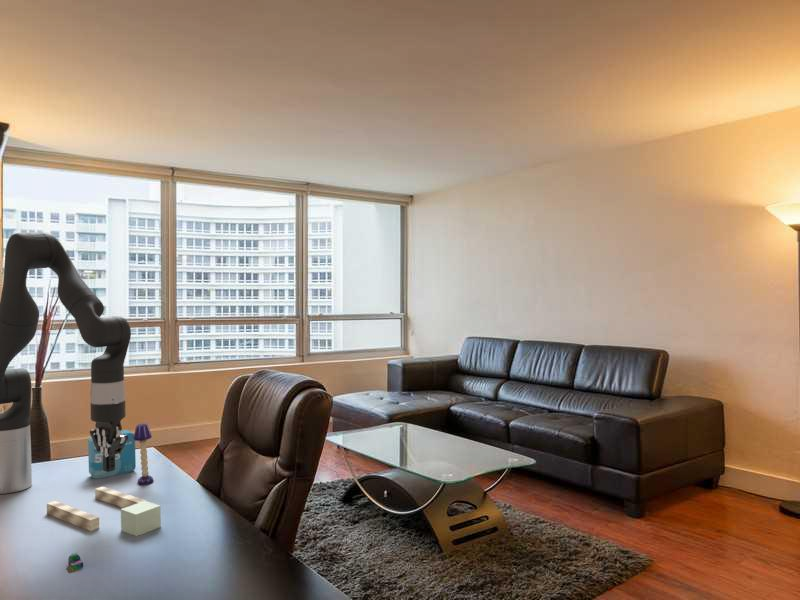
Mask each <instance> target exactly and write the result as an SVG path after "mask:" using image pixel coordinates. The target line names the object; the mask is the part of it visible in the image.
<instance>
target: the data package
mask: <svg viewBox="0 0 800 600" xmlns="http://www.w3.org/2000/svg"><path fill="white" fill-rule="evenodd" d="M121 432H122V434H123V435H127V436H128V440H127V442H126V444H125V446H124V448H123V450H122V451H121V453H119V454H116V455H115V470H113V471H110V472H106V471H103V456H102V455H101V452H97V450H96V447H95V445H94V442H93V440H92V437H91V436H90V437H89V438H88V440H87V449H88V451H87V453H88V474H90V476H91V477H92V478H93V479H96V480H97V479H98V478H99V479H103V477H104V478H108V476H109V477H113V475H114V476H118V475H117V474H119V475H123V474H122V473H124V474H128V473H127V472H129V473H132V472H133V471H135V470H136V467H137V466H136V460H137V459H136V441H135V440H134V434H135V433H132V432H131V430H125V429H124V430H121ZM131 471H132V472H131ZM99 479H98V480H99Z"/></svg>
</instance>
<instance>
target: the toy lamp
mask: <svg viewBox="0 0 800 600" xmlns="http://www.w3.org/2000/svg"><path fill="white" fill-rule="evenodd" d="M133 434H134V440H135V442H136V441H137V442H139V444H140V445H139V449H140V454H139V455H140V465H141V469H140V470H141V476H140V477H139V478H138V479H137V485H138V484H139V485H140V486H145V485H151V484H153V483H154V477H153V476H151V475H150V474H149V466H148V450H147V448H148V446H147V440H150V439H151V438H152V437H153V436H152V433H151V430H150V427H149V425H148V424H147V423H140V424H137V425H136V426H135V430H134V433H133Z"/></svg>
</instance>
